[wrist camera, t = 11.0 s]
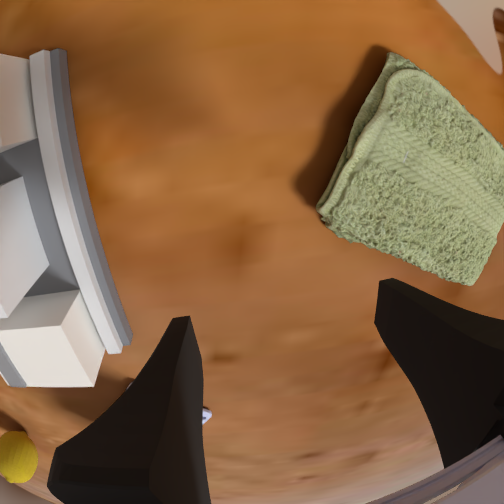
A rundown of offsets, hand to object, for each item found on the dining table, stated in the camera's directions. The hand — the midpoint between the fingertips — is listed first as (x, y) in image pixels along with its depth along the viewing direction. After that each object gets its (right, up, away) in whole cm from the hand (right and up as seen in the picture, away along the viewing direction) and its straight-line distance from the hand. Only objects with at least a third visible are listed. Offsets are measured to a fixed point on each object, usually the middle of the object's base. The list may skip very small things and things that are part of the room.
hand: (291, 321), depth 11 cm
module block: (-17, +4, +5) cm, 18 cm away
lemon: (-29, -19, +15) cm, 38 cm away
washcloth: (+12, +8, +10) cm, 17 cm away
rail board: (-17, +4, +6) cm, 19 cm away
